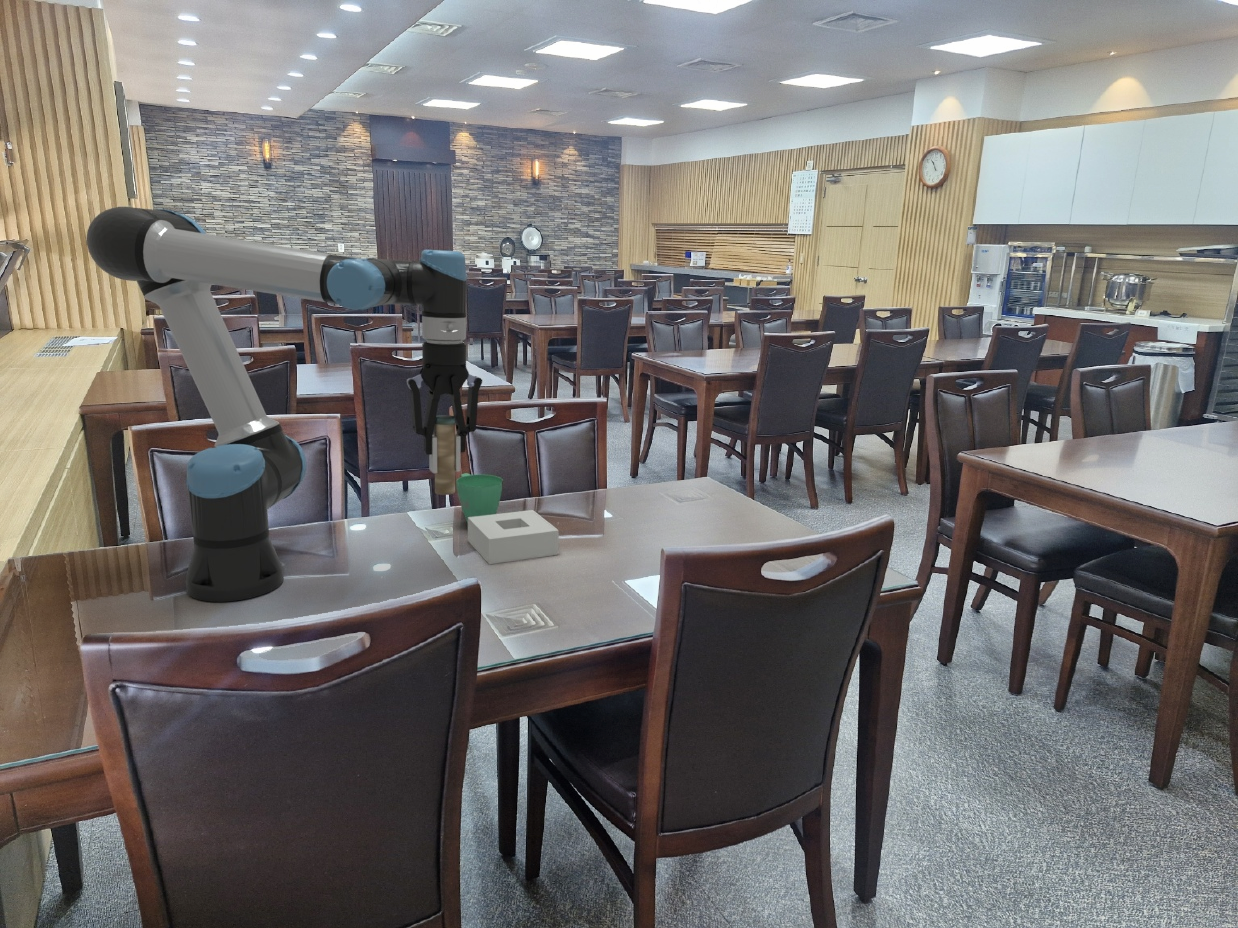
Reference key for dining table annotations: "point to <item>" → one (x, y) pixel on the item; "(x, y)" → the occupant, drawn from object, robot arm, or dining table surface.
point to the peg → (445, 454)
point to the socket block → (512, 536)
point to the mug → (479, 494)
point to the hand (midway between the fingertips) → (444, 470)
